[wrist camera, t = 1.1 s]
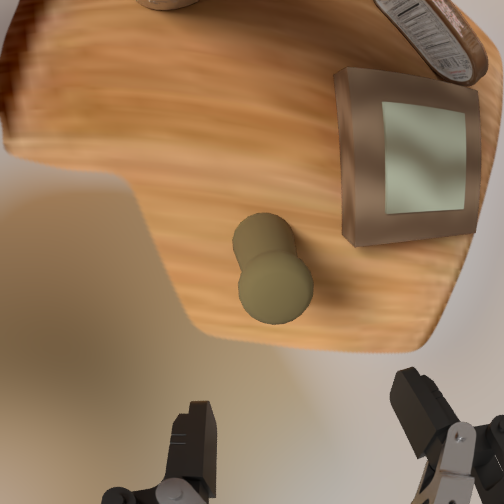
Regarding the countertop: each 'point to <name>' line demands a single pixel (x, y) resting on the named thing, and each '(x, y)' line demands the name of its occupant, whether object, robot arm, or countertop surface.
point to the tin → (440, 37)
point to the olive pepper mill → (271, 270)
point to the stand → (406, 156)
